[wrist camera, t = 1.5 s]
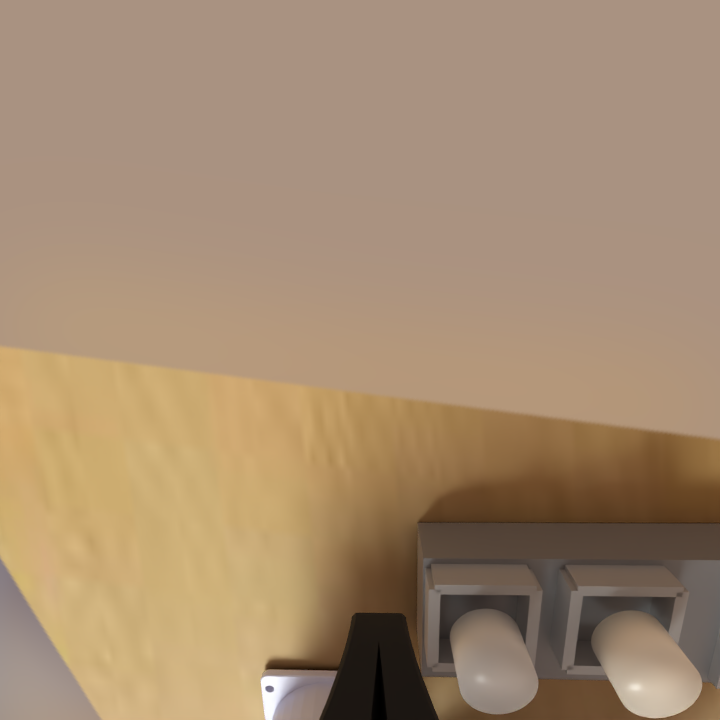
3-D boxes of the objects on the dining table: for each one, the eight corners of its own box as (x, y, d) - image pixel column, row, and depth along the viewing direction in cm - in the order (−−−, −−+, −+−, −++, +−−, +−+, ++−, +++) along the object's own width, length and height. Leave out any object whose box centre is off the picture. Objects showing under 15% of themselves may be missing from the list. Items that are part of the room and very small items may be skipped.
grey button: (517, 664, 17) (534, 715, 15) (448, 662, 17) (457, 713, 16) (522, 609, 17) (541, 655, 15) (450, 608, 17) (460, 653, 15)
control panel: (770, 636, 21) (851, 712, 18) (416, 630, 22) (424, 702, 18) (803, 523, 19) (899, 583, 16) (417, 522, 20) (426, 578, 17)
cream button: (658, 667, 17) (693, 719, 15) (587, 665, 17) (613, 717, 15) (669, 610, 16) (709, 658, 14) (595, 609, 16) (624, 656, 15)
